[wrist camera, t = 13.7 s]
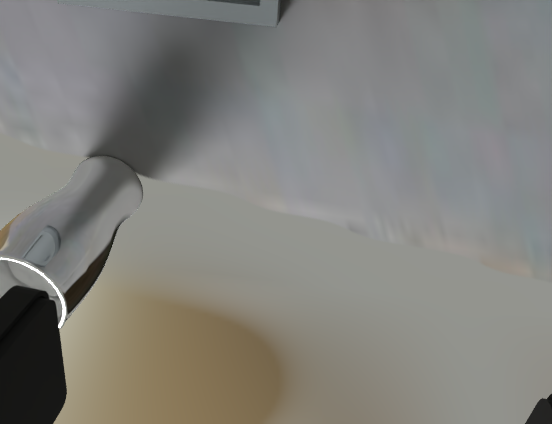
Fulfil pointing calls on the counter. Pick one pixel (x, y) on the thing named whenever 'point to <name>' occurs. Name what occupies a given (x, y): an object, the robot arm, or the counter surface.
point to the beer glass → (69, 233)
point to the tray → (197, 9)
